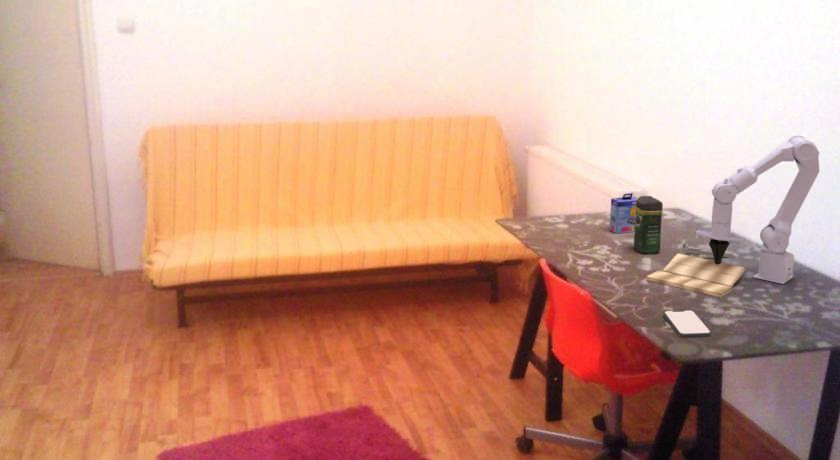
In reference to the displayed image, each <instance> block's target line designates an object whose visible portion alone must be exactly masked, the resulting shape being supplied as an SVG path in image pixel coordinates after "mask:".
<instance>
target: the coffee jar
mask: <svg viewBox="0 0 840 460" xmlns="http://www.w3.org/2000/svg"><path fill="white" fill-rule="evenodd" d="M637 198H638V199H637V201H636V224H635V232H634V237H633V238H634V239H633V248H634V249H635V250H636V251H637V252H639V253H643V254H648V255H649V254H650V255H651V254H652V255H653V254H656V253H660V251H661V238H662V237H661V236H662V232H661V231H662V217H663V209H664V208H663V207H664V205H663V202H662V201H661V200H659V199H657V198H656V197H653V196H652V195H641V196H639V197H637Z"/></svg>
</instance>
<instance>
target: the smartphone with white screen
mask: <svg viewBox="0 0 840 460" xmlns="http://www.w3.org/2000/svg"><path fill="white" fill-rule="evenodd" d="M662 313H663V314H662V315H663V316H664V317H663V318H664V319H665V321H666V320H667V321H668V322H667V324H669V326H670V325H671V326H672V327H671V326H670V327H671V329H672V330H675V331H676V332H675V331H674V332H675V333H676V335H680V336H683V337H682V338H709V337H711V336H712V331H711V330H710V329H709V327H708V326H707V325H706V324H705V323H704V321H703V320H702V319H701V318H700V317H699V316H698V315H697V313H696V312H695V311H694V310H689V309H688V310H687V309H686V310H665V311H663V312H662ZM680 336H679V337H680Z"/></svg>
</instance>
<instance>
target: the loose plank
mask: <svg viewBox="0 0 840 460" xmlns="http://www.w3.org/2000/svg"><path fill="white" fill-rule="evenodd" d="M663 271H667V272H672V273H676V274H681V275H685V276H690V277H694V278H699V279H703V280H707V281H712V282H716V283H721V284H725V285H730V286H733V287H734V285H735V283H736V282H737V281H738V279H740V277H741V276H742V275H743V273H744V272H745V267H744V266H740V265H735V264H731V263H730V264H729V263H725V262H721V263H720V264H715V261H714V260H711V259H706V258H701V257H697V256H693V255H690V256H688V255H685V254H684V255H683V254H679V253H677V254H676V255H675V256H674V257H673V258H672V259H671V260H670V261H669V263H668V264H667V265H666V266H665V267H664V268H663Z"/></svg>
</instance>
